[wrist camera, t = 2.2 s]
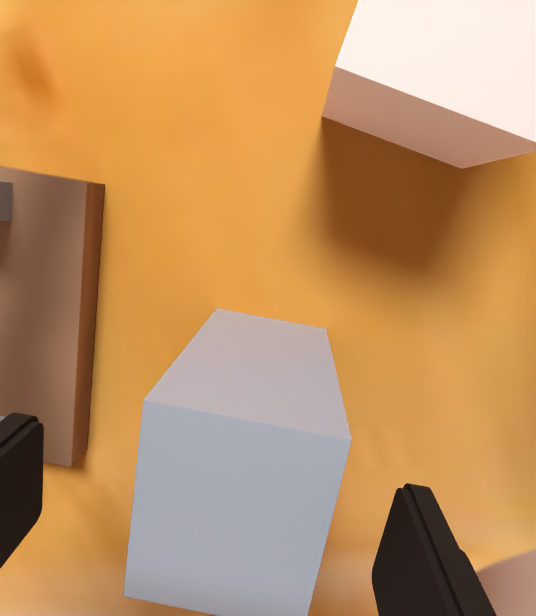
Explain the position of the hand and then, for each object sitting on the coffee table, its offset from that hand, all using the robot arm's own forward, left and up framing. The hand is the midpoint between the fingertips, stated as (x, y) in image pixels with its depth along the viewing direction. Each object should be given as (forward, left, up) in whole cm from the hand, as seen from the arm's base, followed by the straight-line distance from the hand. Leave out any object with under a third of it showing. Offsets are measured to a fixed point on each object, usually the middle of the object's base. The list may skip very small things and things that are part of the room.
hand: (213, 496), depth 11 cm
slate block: (-1, 0, -9) cm, 9 cm away
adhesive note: (-5, -14, -9) cm, 17 cm away
